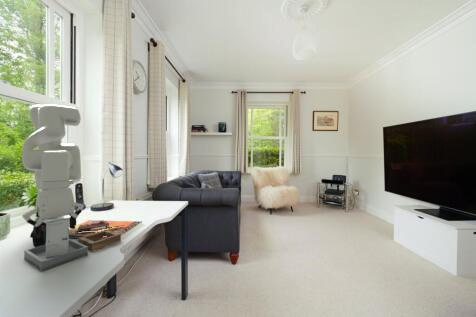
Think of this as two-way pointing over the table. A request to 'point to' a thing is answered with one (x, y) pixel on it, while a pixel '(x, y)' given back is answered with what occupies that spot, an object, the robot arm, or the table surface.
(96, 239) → the holder
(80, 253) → the tray
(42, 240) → the controller
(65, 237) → the skincare box
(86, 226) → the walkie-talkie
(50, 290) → the table surface
